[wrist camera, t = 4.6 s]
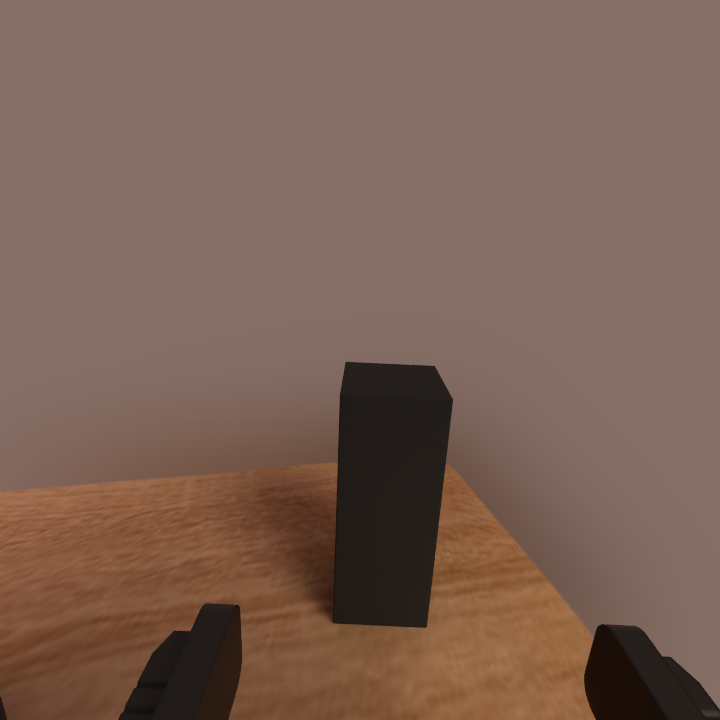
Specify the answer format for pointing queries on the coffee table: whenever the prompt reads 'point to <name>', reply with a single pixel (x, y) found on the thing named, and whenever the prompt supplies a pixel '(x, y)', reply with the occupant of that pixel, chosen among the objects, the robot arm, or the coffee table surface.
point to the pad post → (389, 492)
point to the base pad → (2, 711)
